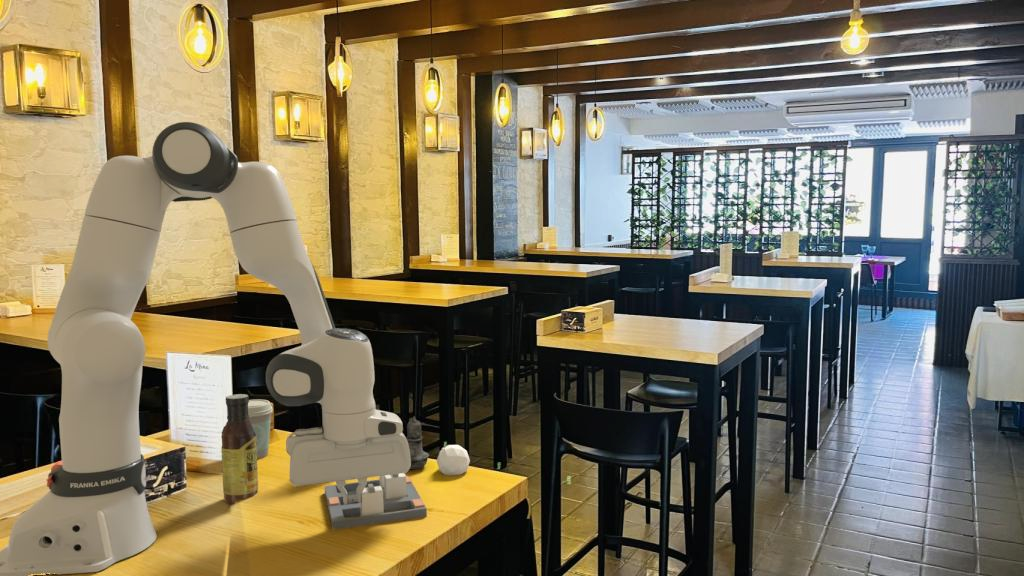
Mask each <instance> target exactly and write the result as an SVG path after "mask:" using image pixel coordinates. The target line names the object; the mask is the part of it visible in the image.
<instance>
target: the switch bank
mask: <svg viewBox="0 0 1024 576" xmlns="http://www.w3.org/2000/svg"><path fill="white" fill-rule="evenodd" d="M368 484H373V486H374V487H376V486H380V481H379V479H371V480H367V485H366V486H365V488H368ZM358 485H359V483H358V481H355V482H349V483H348V482H347V483H346V482H345V486H343V487H344V488H345V489H346V491H347V492H348V491H355V490H356V489H357V487H358ZM382 490H383V505H384V513H381V514H374V515H367V516H361V509H360V503H356V504H348V505H344V502H343V495H342V493H341V492H340V490H339V489H338V488H337V484H331V485H324V498H325V500H326V505H327V510H328V514H329V520H330V523H331V529H332V530H333V531H334V530H342V529H347V528H355V527H362V526H368V525H370V526H371V525H376V524H383V523H389V522H397V521H398V522H399V521H405V520H411V519H419V518H425V517H428V514H427V513H428V511H427V507H426V505H425V503H424V501H423V500H422V498H421V495H420V494H419V492H418V490H417V489H416V486H415V485H414V483H413V482H412V480H411V478H410V477H409V475H406V493H407V497H400V498H393V499H385V497H384V487H383V488H382Z"/></svg>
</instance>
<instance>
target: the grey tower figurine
mask: <svg viewBox="0 0 1024 576" xmlns="http://www.w3.org/2000/svg"><path fill="white" fill-rule="evenodd" d="M406 427H407V436H405V438H406V439H407V442H408V445H409V451H410V458H411V467H410V469H409V470H418V469H422V468H424V467H425V466H426V464H427V462H428V458H429V456H430V454H429V453H428V452H426V451H424V450H423V439H424V436H423V435H422V423H421V421H420V420H417V419H416V416H413V417H412V420H410V421H408V422H407V425H406Z"/></svg>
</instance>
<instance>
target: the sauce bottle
mask: <svg viewBox="0 0 1024 576" xmlns="http://www.w3.org/2000/svg"><path fill="white" fill-rule="evenodd" d="M249 400H250V399H249V395H248V394H245V393H243V394H242V393H238V394H237V393H236V394H232V395H227V396H226V397H225V404H226V413H227V414H226V415H227V416H226V419H227V421H226V423H225V425H224V426H223V428H222V431H221V447H220V448H221V467H222V489H223V490H222V493H223V500H224V501H225V502H226V504H227V503H228V504H232V505H234V504H235V503H236V500H237V501H240V500H241V501H242V500H246V499H249V498H252V497H254V496H256V495H257V494H258V491H259V473H258V472H259V471H258V459H257V441H256V434H255V431H254V429H253V427H252V424H251V422H250V420H249V415H248V403H249Z"/></svg>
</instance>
